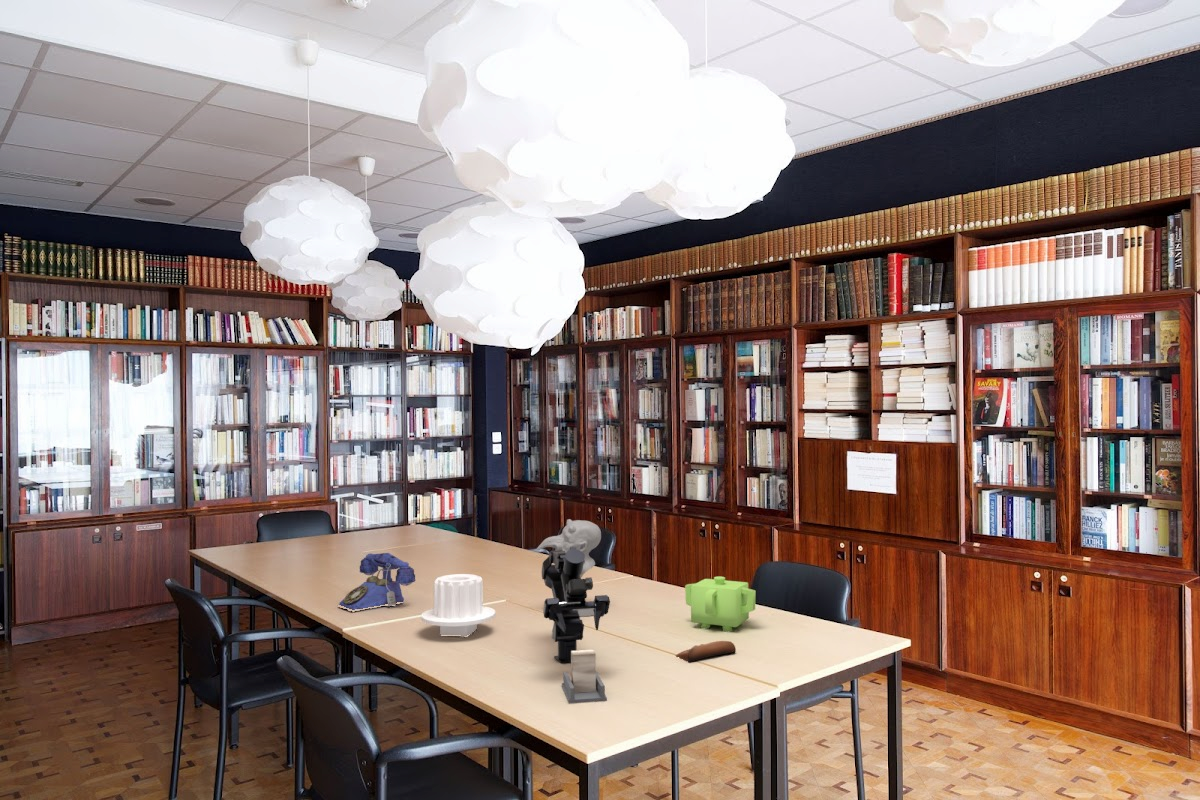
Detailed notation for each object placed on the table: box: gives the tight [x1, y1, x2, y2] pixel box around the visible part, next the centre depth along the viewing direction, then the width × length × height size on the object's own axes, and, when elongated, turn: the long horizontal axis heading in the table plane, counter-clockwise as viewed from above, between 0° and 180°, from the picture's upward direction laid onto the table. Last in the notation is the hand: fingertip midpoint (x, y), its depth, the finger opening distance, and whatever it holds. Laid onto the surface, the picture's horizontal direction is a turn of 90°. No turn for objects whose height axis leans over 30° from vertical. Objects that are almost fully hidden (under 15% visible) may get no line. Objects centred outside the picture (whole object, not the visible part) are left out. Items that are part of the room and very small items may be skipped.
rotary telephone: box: [338, 552, 416, 610], centre depth 331 cm, size 41×24×20 cm, turn 43°
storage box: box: [684, 575, 757, 632], centre depth 292 cm, size 25×23×17 cm
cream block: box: [570, 649, 597, 693], centre depth 223 cm, size 4×6×10 cm, turn 100°
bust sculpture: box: [536, 518, 602, 617], centre depth 314 cm, size 16×24×35 cm
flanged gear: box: [420, 573, 496, 636], centre depth 286 cm, size 25×25×19 cm
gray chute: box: [561, 671, 608, 704], centre depth 223 cm, size 14×10×4 cm
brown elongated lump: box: [675, 640, 737, 663], centre depth 257 cm, size 18×7×7 cm, turn 121°
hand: (581, 630), depth 232 cm, fingers open, 9 cm apart
